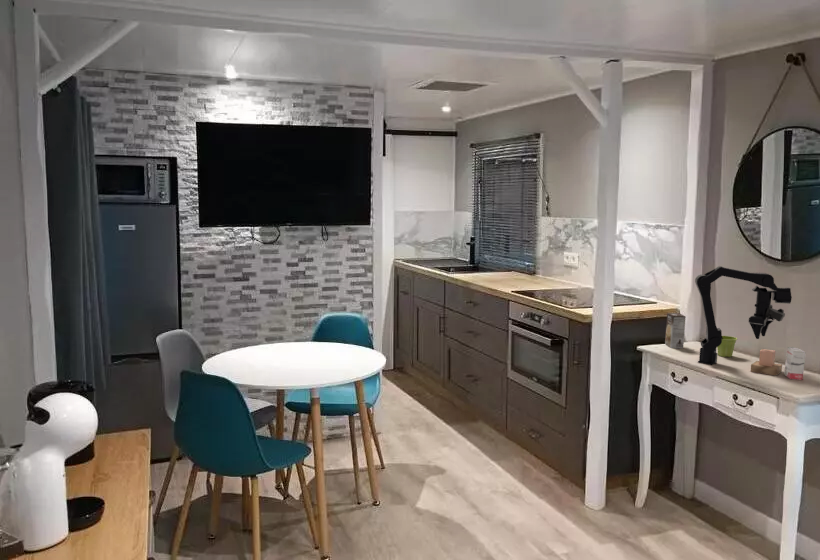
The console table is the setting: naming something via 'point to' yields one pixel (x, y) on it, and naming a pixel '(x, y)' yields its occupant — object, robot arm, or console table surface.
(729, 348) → the plant pot
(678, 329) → the coffee box
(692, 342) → the console table surface
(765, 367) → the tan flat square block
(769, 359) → the peach block
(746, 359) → the console table surface
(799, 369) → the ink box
